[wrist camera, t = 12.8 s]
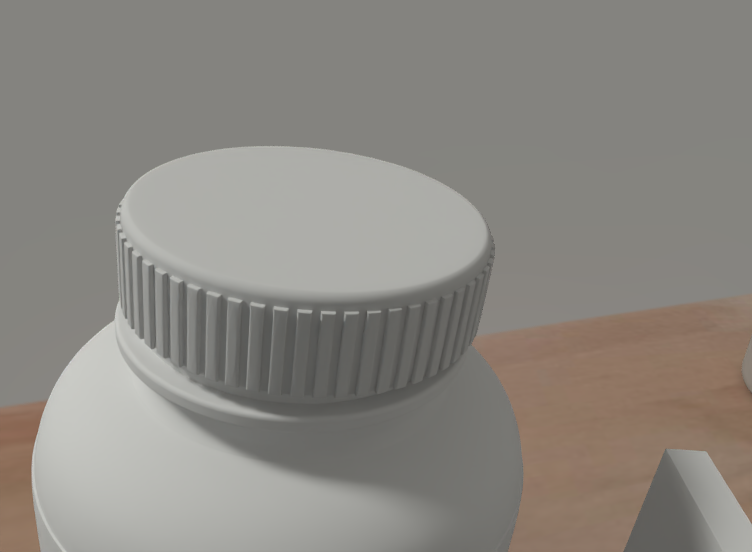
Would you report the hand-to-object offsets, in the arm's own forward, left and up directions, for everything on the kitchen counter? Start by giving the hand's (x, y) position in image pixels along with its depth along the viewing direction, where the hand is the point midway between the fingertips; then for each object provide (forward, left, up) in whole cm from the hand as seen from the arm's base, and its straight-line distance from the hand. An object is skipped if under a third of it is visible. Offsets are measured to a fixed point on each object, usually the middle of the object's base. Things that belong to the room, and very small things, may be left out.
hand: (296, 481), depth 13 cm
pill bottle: (0, 0, -10) cm, 10 cm away
